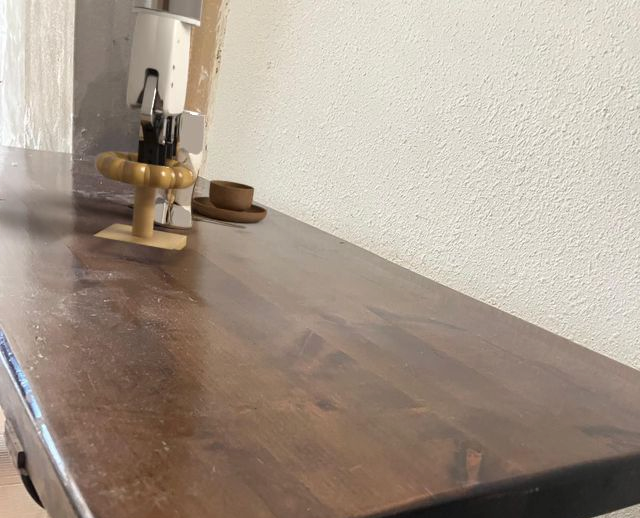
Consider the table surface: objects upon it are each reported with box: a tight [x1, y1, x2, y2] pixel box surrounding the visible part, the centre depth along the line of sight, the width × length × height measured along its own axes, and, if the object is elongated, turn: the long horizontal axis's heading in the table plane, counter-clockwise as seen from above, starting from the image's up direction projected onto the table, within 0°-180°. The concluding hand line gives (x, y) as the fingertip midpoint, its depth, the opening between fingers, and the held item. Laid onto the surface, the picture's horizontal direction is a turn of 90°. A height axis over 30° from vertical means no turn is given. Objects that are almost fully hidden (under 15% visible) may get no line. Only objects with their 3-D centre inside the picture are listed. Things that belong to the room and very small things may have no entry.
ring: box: [93, 150, 197, 189], centre depth 86 cm, size 11×11×2 cm
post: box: [93, 185, 188, 251], centre depth 88 cm, size 9×9×8 cm
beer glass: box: [153, 108, 206, 230], centre depth 101 cm, size 7×7×15 cm
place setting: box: [129, 179, 268, 229], centre depth 117 cm, size 18×20×6 cm
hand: (153, 175), depth 90 cm, fingers closed on ring, 2 cm apart
